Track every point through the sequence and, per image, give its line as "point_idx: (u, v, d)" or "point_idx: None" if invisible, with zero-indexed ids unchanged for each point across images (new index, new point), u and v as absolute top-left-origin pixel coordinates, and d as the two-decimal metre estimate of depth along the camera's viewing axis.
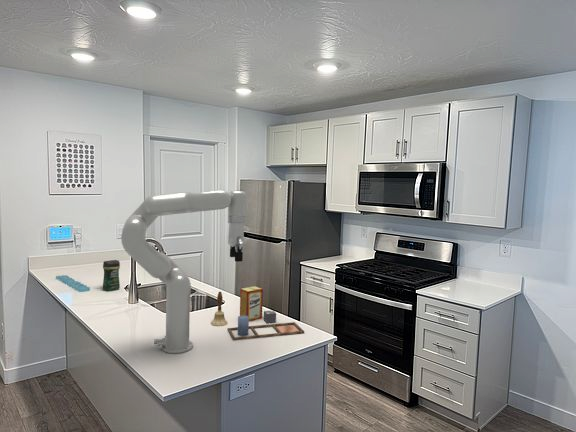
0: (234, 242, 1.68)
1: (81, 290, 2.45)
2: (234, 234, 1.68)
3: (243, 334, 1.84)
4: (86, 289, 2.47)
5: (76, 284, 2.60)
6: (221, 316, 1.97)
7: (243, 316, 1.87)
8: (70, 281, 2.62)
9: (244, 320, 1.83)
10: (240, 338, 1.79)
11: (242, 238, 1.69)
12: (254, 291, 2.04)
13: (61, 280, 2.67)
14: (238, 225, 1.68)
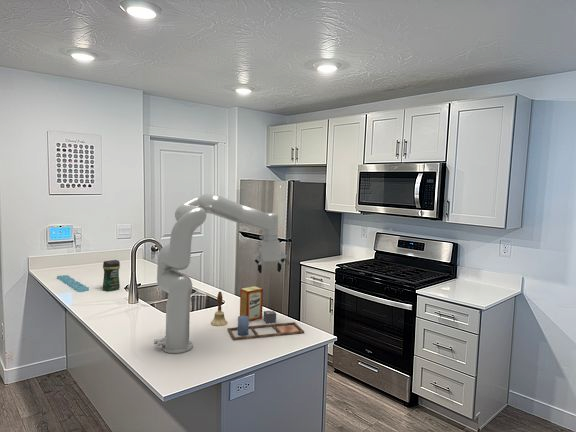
0: (280, 256, 1.99)
1: (80, 290, 2.45)
2: None
3: (243, 334, 1.84)
4: (85, 289, 2.47)
5: (76, 284, 2.60)
6: (221, 316, 1.97)
7: (243, 316, 1.87)
8: (70, 281, 2.62)
9: (244, 320, 1.83)
10: (240, 338, 1.79)
11: None
12: (254, 291, 2.04)
13: (61, 280, 2.68)
14: None
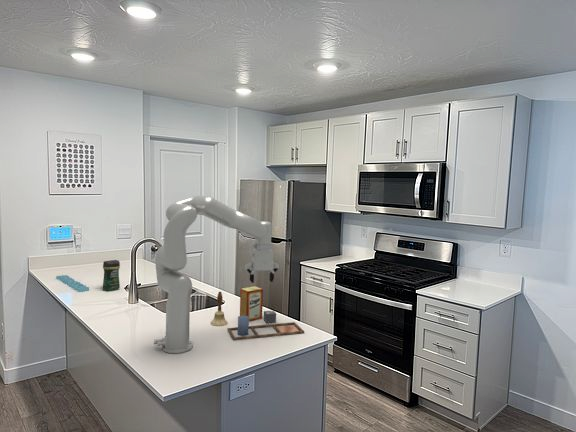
0: None
1: (80, 290, 2.45)
2: None
3: (243, 334, 1.84)
4: (85, 289, 2.47)
5: (76, 284, 2.60)
6: (221, 316, 1.97)
7: (243, 316, 1.87)
8: (70, 281, 2.62)
9: (244, 320, 1.83)
10: (240, 338, 1.79)
11: None
12: (254, 291, 2.04)
13: (61, 280, 2.67)
14: None
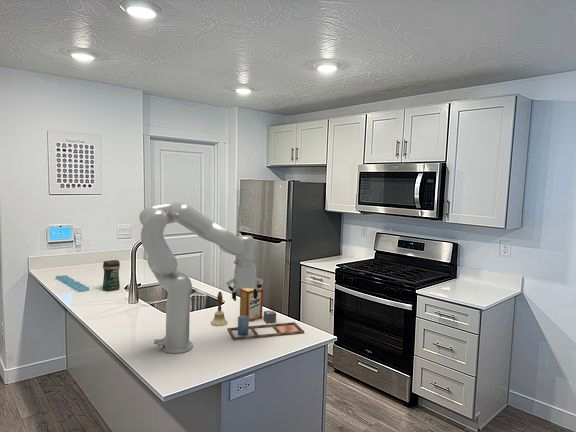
0: (256, 282, 1.85)
1: (80, 290, 2.45)
2: (256, 275, 1.84)
3: (243, 334, 1.84)
4: (85, 289, 2.47)
5: (75, 284, 2.60)
6: (221, 316, 1.97)
7: (243, 316, 1.87)
8: (69, 281, 2.62)
9: (244, 320, 1.83)
10: (240, 338, 1.79)
11: None
12: None
13: (61, 280, 2.67)
14: None
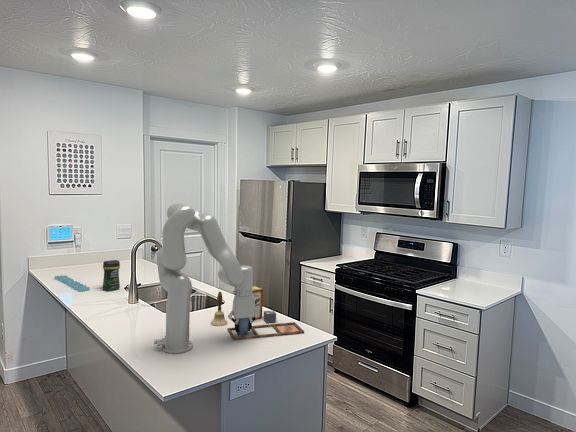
0: (255, 312, 1.85)
1: (81, 290, 2.45)
2: None
3: (243, 334, 1.84)
4: (86, 289, 2.47)
5: (75, 284, 2.60)
6: (221, 316, 1.97)
7: None
8: (69, 281, 2.62)
9: (244, 320, 1.83)
10: (240, 338, 1.79)
11: None
12: (254, 291, 2.04)
13: (60, 280, 2.67)
14: None
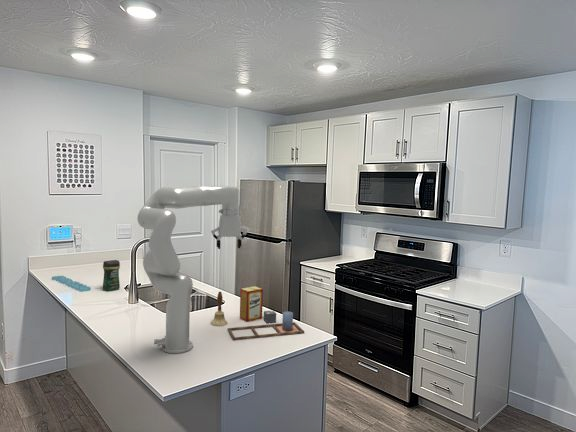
0: (240, 231, 1.92)
1: (82, 290, 2.46)
2: None
3: (288, 329, 1.91)
4: (87, 289, 2.48)
5: (75, 284, 2.60)
6: (221, 316, 1.97)
7: (287, 312, 1.94)
8: (68, 281, 2.62)
9: (289, 316, 1.91)
10: (240, 338, 1.79)
11: None
12: (254, 291, 2.04)
13: (58, 280, 2.66)
14: None
